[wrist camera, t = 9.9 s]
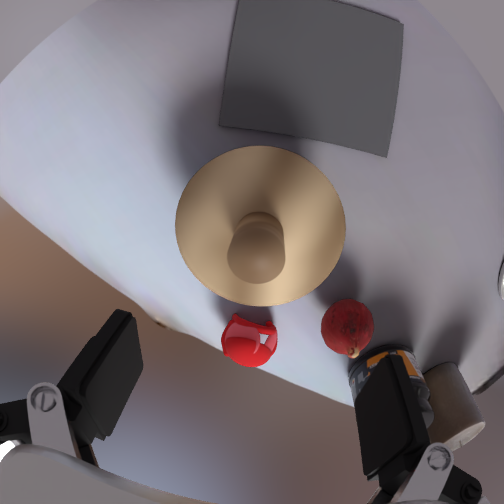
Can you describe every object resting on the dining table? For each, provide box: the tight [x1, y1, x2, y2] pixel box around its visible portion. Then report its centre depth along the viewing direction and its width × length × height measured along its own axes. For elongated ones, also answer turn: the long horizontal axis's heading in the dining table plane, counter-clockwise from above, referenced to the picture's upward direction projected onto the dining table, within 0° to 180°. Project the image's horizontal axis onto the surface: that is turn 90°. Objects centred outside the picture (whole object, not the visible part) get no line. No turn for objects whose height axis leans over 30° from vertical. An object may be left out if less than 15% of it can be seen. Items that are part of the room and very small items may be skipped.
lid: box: [175, 146, 346, 306], centre depth 20 cm, size 13×13×5 cm
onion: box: [321, 299, 374, 358], centre depth 28 cm, size 6×6×8 cm
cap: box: [221, 314, 277, 367], centre depth 31 cm, size 8×6×6 cm
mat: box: [219, 0, 404, 158], centre depth 21 cm, size 16×15×1 cm
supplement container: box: [349, 345, 435, 428], centre depth 30 cm, size 10×10×12 cm
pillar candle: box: [423, 362, 485, 451], centre depth 31 cm, size 10×10×15 cm
